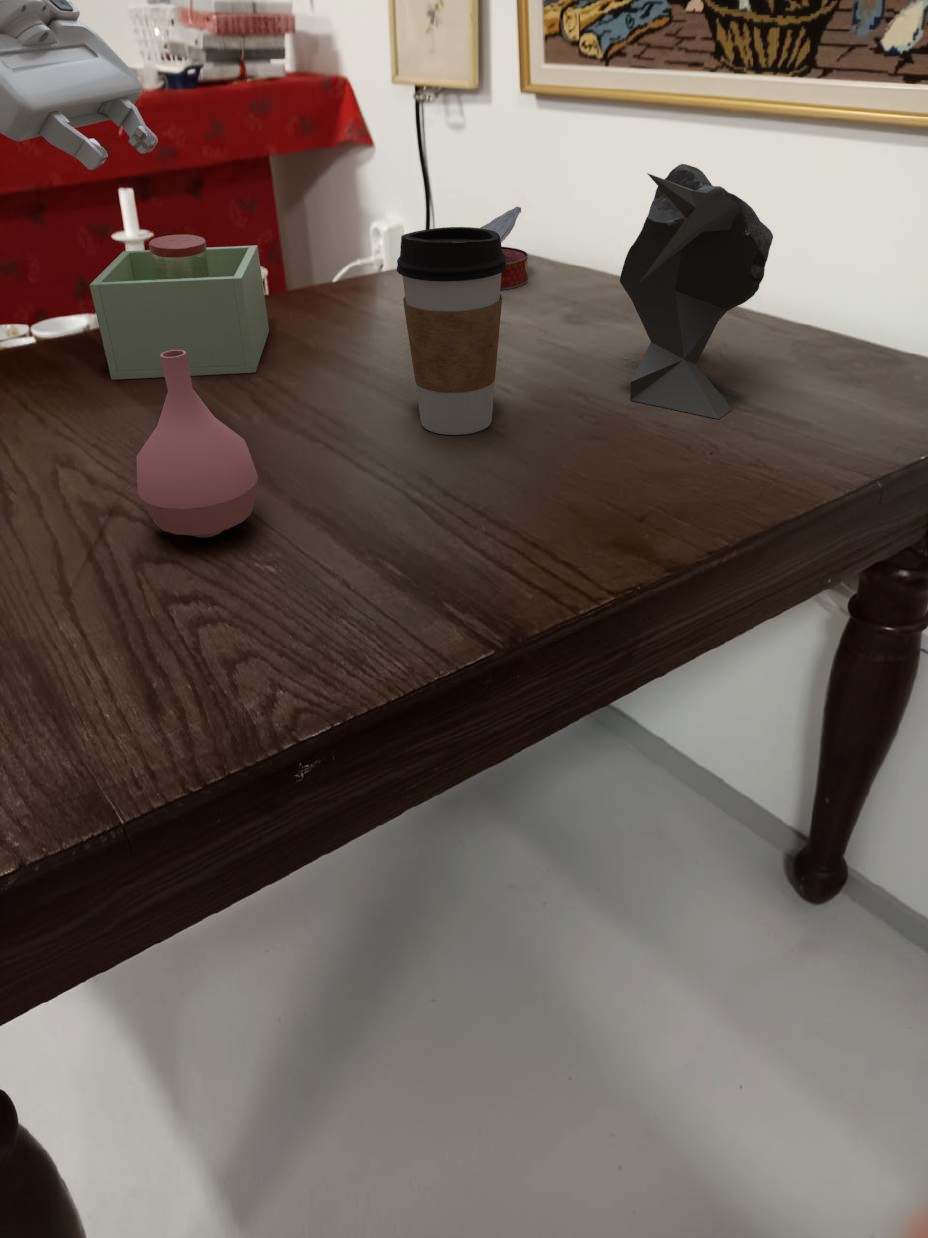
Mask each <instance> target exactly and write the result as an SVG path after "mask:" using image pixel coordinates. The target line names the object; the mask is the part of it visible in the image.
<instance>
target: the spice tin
mask: <svg viewBox="0 0 928 1238" xmlns="http://www.w3.org/2000/svg"><path fill="white" fill-rule="evenodd" d="M148 247H149V250H150V252H151V253H152V258H153V264H154V270H155V276H156V280H163V279H185V278H207V277H209V270H208V263H207V255H206V248H207V242H206V239H205V238H204V237H202V236H199V235H194V234H168V235H163V236H159V237H158V236H157V237H155V238H153V239H151V240H150V241H149V242H148Z"/></svg>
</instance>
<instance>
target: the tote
mask: <svg viewBox="0 0 928 1238" xmlns="http://www.w3.org/2000/svg"><path fill="white" fill-rule="evenodd" d="M206 255H207V263H208V270H209V277H207V278H185V279H163V280H156V276H155V270H154V264H153V258H152V253H151V252H150V249H145V250H123V251H122V252H121V253H120V254H119V255H118V256H117V257H116V258H115V259H114V260H113V261H112V262H111V263H110V264H109V265H108V266H107V267H106V268H105V269H104V270H103V271H102V272H101V273H100V274H99V275H98V276H97V277H96V278H94V280H93V281H92V282H91V283H90V284H89V290H90V293H91V297H92V302H93V307H94V310H95V315H96V319H97V324H98V327H99V332H100V337H101V341H102V345H103V349H104V354H105V357H106V362H107V365H108V371H109V375H110V380H111V381H115V380H118V381H119V380H136V379H139V380H140V379H155V378H158V379H159V378H165V375H164V370H163V366H162V361H161V356H160V354H161V353H163V352H166V351H170V350H184V351H186V354H187V360H188V366H189V371H190V377H197V376H216V375H237V374H255V373H257V369H258V366H259V363H260V360H261V357H262V354H263V351H264V348H265V345H266V342H267V339H268V336H269V332H270V326H269V320H268V311H267V305H266V297H265V290H264V282H263V276H262V268H261V262H260V261H261V260H260V254H259V247H258V245H257V244H256V245H237V246H235V245H234V246H214V247H213V246H212V247H206Z"/></svg>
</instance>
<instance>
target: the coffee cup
mask: <svg viewBox="0 0 928 1238" xmlns="http://www.w3.org/2000/svg"><path fill="white" fill-rule="evenodd" d="M502 247H503V246H502V242H501V240H500V235H499V234H498V233H496V232H494V231H492V230H487V229H482V228H481V227H472V226H448V227H436V228H428V229H427V228H426V229H422V230H416V231H412V232H409V233H408V232H407V233H405V234H402V235H401V236H400V250H399V251H400V253H399V257H398V258H397V260H396V263H397V265H396V272H397V273H398V274H399V275H400V276H402V282H403V283H402V284H403V290H404V297H403V299H402V302H403V303H402V304H403V308H404V309H403V310H404V316H405V321H406V330H407V336H408V343H409V349H410V355H411V362H412V369H413V376H414V382H415V386H416V394H417V401H418V402H417V403H418V411H419V418H420V424H421V426H422V427H423V428H424V429H425V430H427V431H429V432H431V433H435V434H439V435H443V436H444V435H445V436H446V435H447V436H462V435H470V434H475V433H478V432H481V431H483V430H485V429H487V428H488V427H490V425H491V424H492V422H493V421H492V420H493V411H494V409H493V408H494V396H495V395H494V394H495V393H494V392H495V380H496V373H497V361H498V349H499V339H500V338H499V337H500V329H501V317H502V307H503V305H502V304H503V295H502V293H501V290H500V286H501V272H503V271H504V270H505V269H506V268H507V265H506V262H505V260H506V257H505V255H504V253H503V252H502Z"/></svg>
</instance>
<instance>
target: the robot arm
mask: <svg viewBox="0 0 928 1238" xmlns="http://www.w3.org/2000/svg"><path fill="white" fill-rule="evenodd" d="M80 14H81V12H80V10H79V9H78V7H77V6H76V5H75V4H74V3H73V2H72V1H70V0H0V134H2V135H3V136H5V137H7V138H9V139H11V140H12V141H14V142H23V141H26V140H30V139H34V138H38V137H43V138H44V140H46V141H47V142H48V143H49V144H50V145H52V146H54V147H56V148H58V149H59V150H61V151H63V152H65V154H68V155H70V156H72V157H75V159H77V160H78V161H79V162H80V163H81V164H82V165H83V166H84V167H85V168H86V169H87V170H90V171H93V170H96V169H100V168H102V167H103V166H104V165H105V162H106V161H107V159H108V158H109V154H108V151H107V150H106V149H105V148H104V147H103V146H101V144H100V143H99V141H98V140H96V139H95V138H88V137H87V136H86V135H84V134H83V133H81V132H80V131H79V130H77V129H76V128H81V127H85V126H90V125H93V124H97V123H102V122H106V121H112V122H113V123H114V124H115V125H116V126H117V127H122V129H123V130H124V132H125V133H126V135H127V136H128V137H129V140H128V143H129V144H130V145H131V146H132V147H133V148H134V149H136V151H137V152H138V153H139V154H142V155H145V154H148V153H151V152H153V150H154V149H155V148H156V146H157V145H158V143H159V138H158V136H157V135H156V134H155V133H154V132H153V131H152V130H151V129H150V128H149V127H148V126H147V125H146V122H145V120H144V118H143V117H142V115H141V113H140V112H139V109H138V107H137V106H136V105H135V104H136V103H137V101H138V100H139V97H140V96H141V94H142V92H143V88H142V85H141V83H140V81H139V78H138V77H137V75H135V73H134V72H133V70H132V69H131V68H130V67H129V66H128V65H127V63H125V62H124V61H123V59H122V58H121V57H120V56H119V55H118V54H117V53H116V52H115V50H113V48H111V47H110V45H109V44H108V43H107V42H106V41H105V40H104V39H103V38H102V37H101V36H100V35H99V34H98V33H97V32H96V31H95V30H93V29H92V28H91V27H90V26H88V25H87V24H85V23H83V22H81V21H79V20H78V19H79V18H80Z"/></svg>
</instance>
